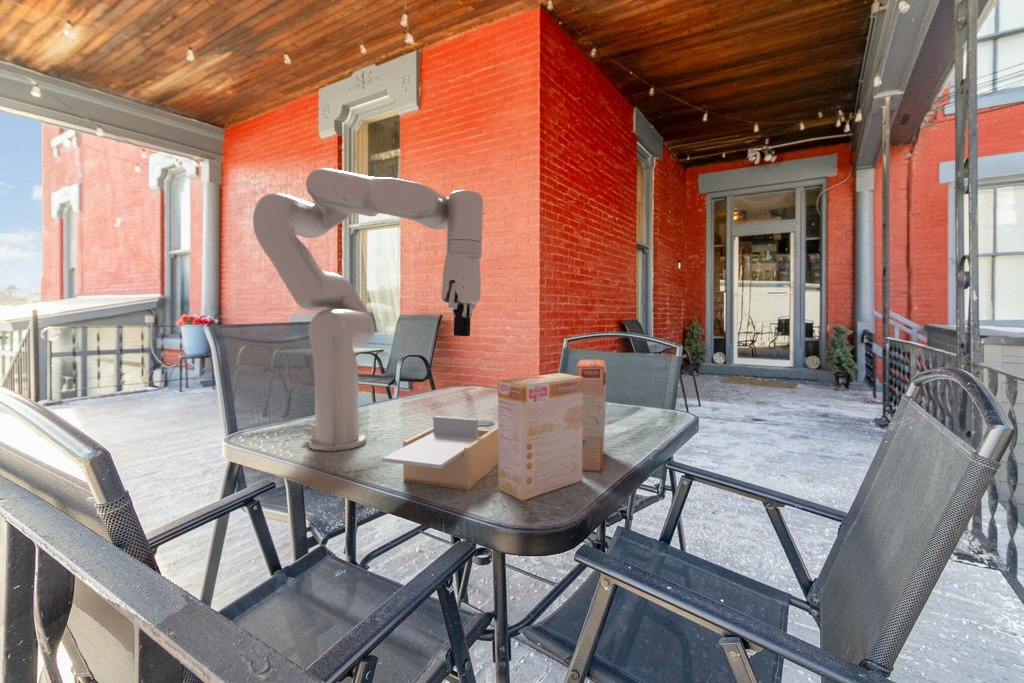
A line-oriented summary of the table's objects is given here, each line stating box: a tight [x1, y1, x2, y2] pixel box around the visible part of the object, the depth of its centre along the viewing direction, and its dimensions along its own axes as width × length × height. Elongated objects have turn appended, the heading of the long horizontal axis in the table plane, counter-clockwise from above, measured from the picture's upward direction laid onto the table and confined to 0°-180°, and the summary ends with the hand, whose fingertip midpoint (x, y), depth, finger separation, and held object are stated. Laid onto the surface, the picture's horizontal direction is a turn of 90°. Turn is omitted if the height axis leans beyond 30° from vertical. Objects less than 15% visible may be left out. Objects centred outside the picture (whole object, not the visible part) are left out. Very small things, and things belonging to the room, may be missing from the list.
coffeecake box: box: [497, 372, 583, 502], centre depth 84 cm, size 15×7×20 cm, turn 129°
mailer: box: [402, 425, 498, 490], centre depth 92 cm, size 13×18×7 cm
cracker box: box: [575, 358, 607, 473], centre depth 97 cm, size 14×6×21 cm, turn 168°
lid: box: [381, 415, 480, 469], centre depth 84 cm, size 11×17×4 cm, turn 161°
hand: (461, 335), depth 102 cm, fingers closed
